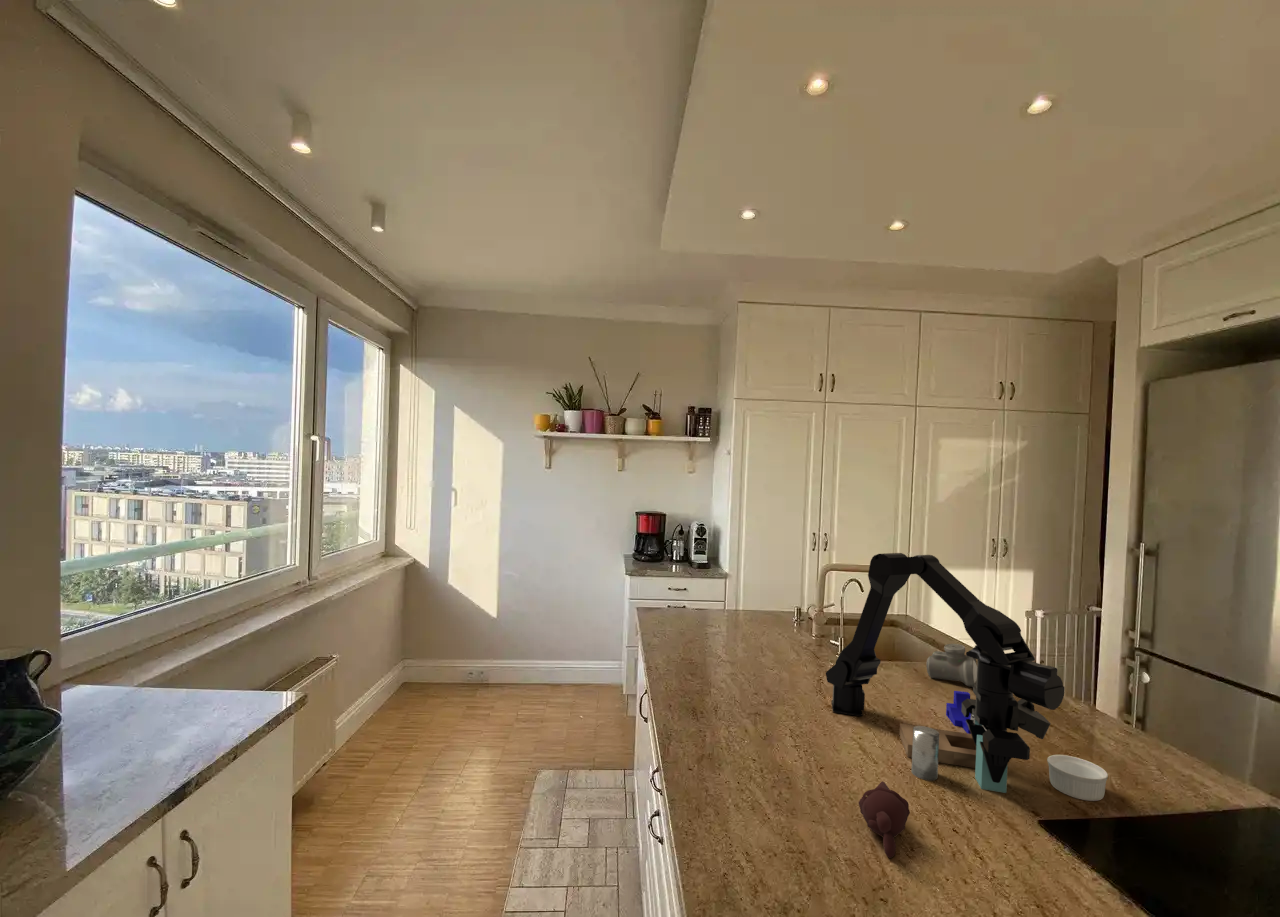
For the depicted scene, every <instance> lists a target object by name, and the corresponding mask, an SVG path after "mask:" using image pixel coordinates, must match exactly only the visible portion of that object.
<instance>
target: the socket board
mask: <svg viewBox="0 0 1280 917" xmlns="http://www.w3.org/2000/svg"><path fill="white" fill-rule="evenodd" d="M915 726H916V725H913V724H905V723H899V734H898V735H900V736H899V738H900V741H901V743H902V746H903V749H904V751H905V755H906V756H907V758H911V759H912V746H913V728H914V727H915ZM931 728H932V729H934V730H936V731H938V732H939V755H938V763H941V764H949V765H953V766H959V767H968V768H972V769H975V767H976V746H975V743H974V741H973V738H972V735H971V734H968V733H967V732H961V731H953V730H949V729H948V730H947V729H940V728H939V729H938V728H933V727H931Z"/></svg>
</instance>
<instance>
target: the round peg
mask: <svg viewBox="0 0 1280 917" xmlns="http://www.w3.org/2000/svg"><path fill="white" fill-rule="evenodd" d="M914 726H915V727H914V728H913V746H912V758H911V769H910V770H911V774H912V775H913V776H915V777H916V778H919V779H921V780H925V781H929V782H930V781H936V780H937V779H938V773H939V762H938V755H939V732H938V731H936V730H934V729H935V728H934V729H932V728H933V727H928V726H923V725H914Z"/></svg>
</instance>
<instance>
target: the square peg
mask: <svg viewBox="0 0 1280 917" xmlns="http://www.w3.org/2000/svg"><path fill="white" fill-rule="evenodd" d="M980 742H983V735H977V744H976V767H975V768H974V769H975V771H974V779H975V780H976V782H977V784H978V786H979V787H980V789H981V790H985V791H990V792H991V791H993V792H998V793H1004V794H1007V788H1008V787H1007V786H1008V767H1009V766H1008V765H1009V763H1008V764H1007V766H1006V769H1005V771H1004V774H1003V776H1002V778H1001V781H1000V783H996V782H993V781H992V779H991V776H990V773H989V770H988V767H987V764H986V760H985V757H984V754H983V751H982V748H981V745H980Z"/></svg>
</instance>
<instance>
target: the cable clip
mask: <svg viewBox="0 0 1280 917" xmlns="http://www.w3.org/2000/svg"><path fill="white" fill-rule="evenodd" d="M966 699H971V694H970V693H969V692H968V691H960V690H954V691H953V703H951V702H946V704H945V705H946V709H945V715H946V717H947V719H948V720H949V721H950V722H951V723H952V724H953V726H954V727H959V728H962V729H963V731H965V733H968V734H971V733H970V730H969V728H968V725H967V723H966V719H971V714H970V713H969V717H965V716H964V715H963V713H962V712H961V710H962V702H963V701H964V700H966Z"/></svg>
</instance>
